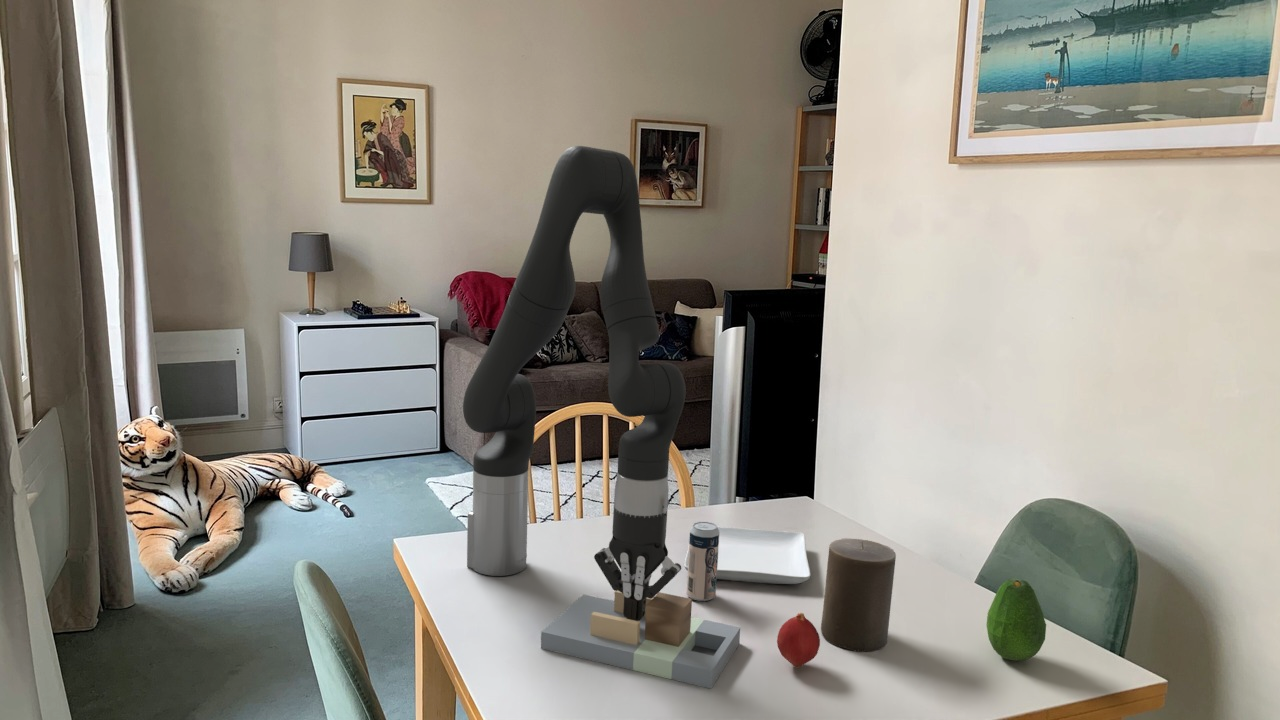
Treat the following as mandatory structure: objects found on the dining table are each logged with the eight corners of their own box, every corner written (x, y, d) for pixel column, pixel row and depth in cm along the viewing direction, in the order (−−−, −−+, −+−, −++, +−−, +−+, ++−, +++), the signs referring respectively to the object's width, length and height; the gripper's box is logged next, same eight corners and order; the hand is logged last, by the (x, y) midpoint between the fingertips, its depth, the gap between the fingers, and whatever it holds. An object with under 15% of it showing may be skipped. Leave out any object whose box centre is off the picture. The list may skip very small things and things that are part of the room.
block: (644, 639, 128) (646, 605, 127) (657, 624, 133) (658, 592, 132) (678, 646, 126) (680, 612, 126) (690, 632, 131) (692, 598, 130)
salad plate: (682, 584, 154) (683, 565, 154) (690, 540, 175) (691, 522, 175) (810, 595, 152) (811, 576, 152) (803, 549, 173) (804, 531, 172)
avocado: (971, 648, 135) (980, 571, 133) (1017, 643, 137) (1026, 567, 135) (1007, 675, 127) (1017, 593, 126) (1054, 670, 130) (1065, 589, 128)
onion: (771, 656, 130) (775, 602, 129) (811, 656, 131) (815, 603, 129) (780, 677, 124) (784, 621, 123) (822, 676, 125) (827, 621, 124)
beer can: (713, 604, 146) (718, 532, 144) (684, 600, 147) (688, 529, 145) (717, 592, 151) (721, 522, 149) (688, 588, 152) (692, 519, 150)
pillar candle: (849, 657, 131) (860, 556, 128) (807, 627, 139) (816, 533, 137) (901, 645, 135) (912, 548, 133) (857, 617, 144) (866, 526, 141)
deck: (540, 648, 130) (541, 611, 129) (582, 609, 142) (584, 575, 141) (710, 688, 121) (713, 649, 120) (739, 643, 134) (741, 607, 133)
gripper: (586, 504, 127) (580, 621, 130) (676, 521, 123) (668, 642, 126) (608, 489, 134) (602, 600, 137) (694, 504, 129) (686, 620, 132)
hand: (634, 620), depth 131 cm, fingers closed
